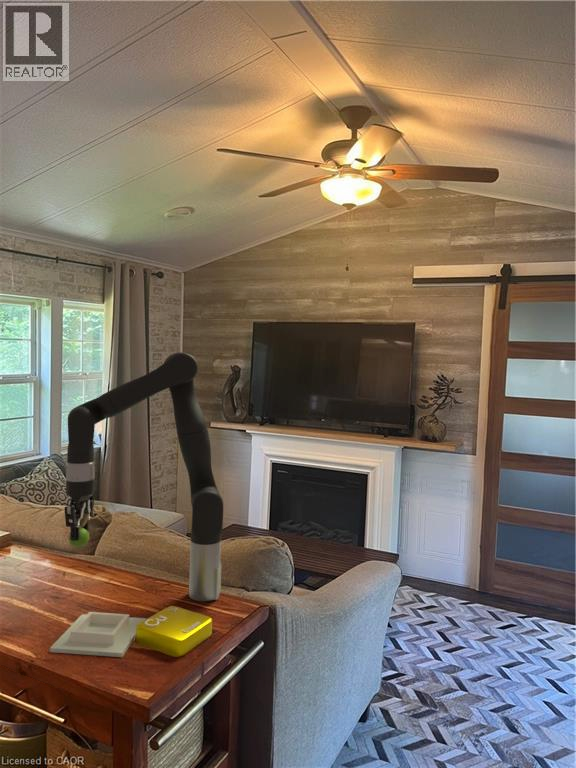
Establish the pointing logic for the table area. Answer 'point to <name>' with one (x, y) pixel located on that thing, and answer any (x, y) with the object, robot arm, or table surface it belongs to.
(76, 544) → the snail figurine
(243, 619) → the table surface
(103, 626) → the collar stand
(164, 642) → the element tile
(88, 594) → the table surface
